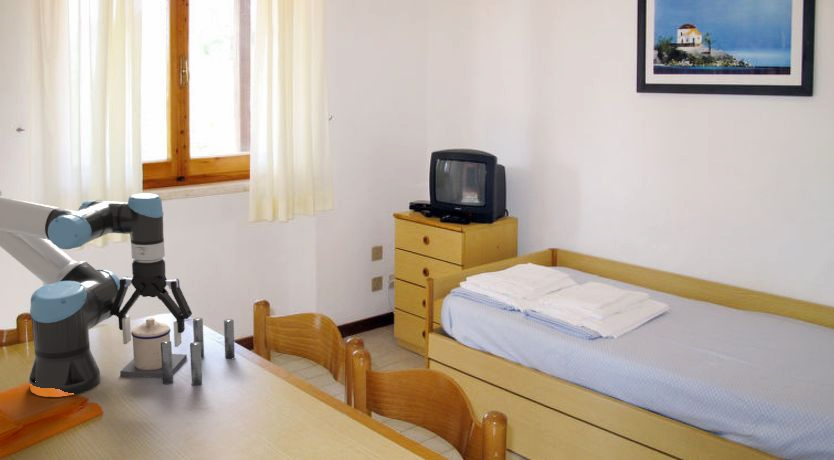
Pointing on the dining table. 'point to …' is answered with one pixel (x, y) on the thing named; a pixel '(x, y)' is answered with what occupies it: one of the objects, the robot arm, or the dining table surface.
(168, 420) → the dining table surface
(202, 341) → the post back left
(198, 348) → the post front right
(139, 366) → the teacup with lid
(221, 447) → the dining table surface
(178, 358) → the coaster
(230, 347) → the post back right
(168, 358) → the post front left
